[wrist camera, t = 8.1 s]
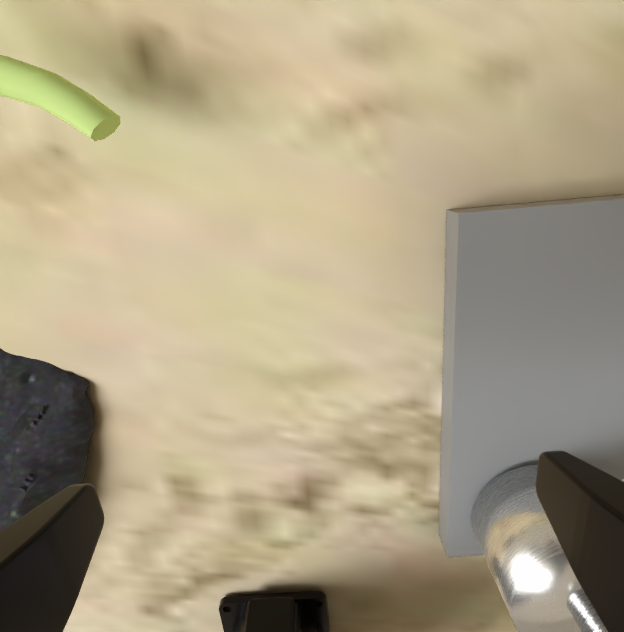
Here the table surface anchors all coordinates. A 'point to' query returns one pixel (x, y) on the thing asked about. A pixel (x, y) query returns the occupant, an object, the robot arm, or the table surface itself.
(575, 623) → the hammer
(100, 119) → the figurine
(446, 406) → the base board
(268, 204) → the table surface
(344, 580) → the table surface
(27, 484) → the dark slate chunk
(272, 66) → the table surface
